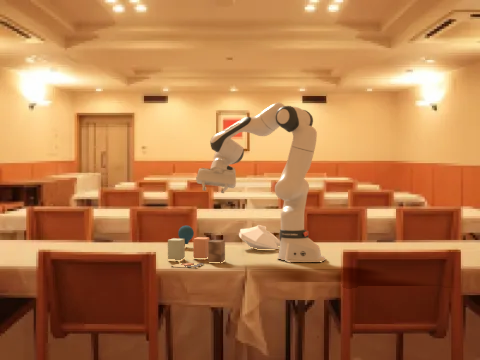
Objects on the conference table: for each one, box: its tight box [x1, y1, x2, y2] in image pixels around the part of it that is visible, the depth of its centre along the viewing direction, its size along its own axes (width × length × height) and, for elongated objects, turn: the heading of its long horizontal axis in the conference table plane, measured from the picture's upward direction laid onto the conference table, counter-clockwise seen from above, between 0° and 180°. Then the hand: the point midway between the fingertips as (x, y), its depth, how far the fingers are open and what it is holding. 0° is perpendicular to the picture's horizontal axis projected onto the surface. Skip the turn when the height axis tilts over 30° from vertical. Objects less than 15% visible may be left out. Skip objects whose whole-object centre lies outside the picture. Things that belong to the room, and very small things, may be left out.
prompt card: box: [181, 262, 205, 267], centre depth 242 cm, size 12×9×1 cm
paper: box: [238, 224, 280, 249], centre depth 289 cm, size 25×24×12 cm
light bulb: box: [177, 225, 195, 245], centre depth 294 cm, size 8×8×12 cm
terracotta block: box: [192, 236, 211, 258], centre depth 259 cm, size 6×6×10 cm
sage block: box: [167, 237, 186, 260], centre depth 256 cm, size 6×6×10 cm
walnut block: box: [207, 239, 226, 263], centre depth 250 cm, size 6×6×10 cm
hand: (213, 191), depth 271 cm, fingers open, 8 cm apart
